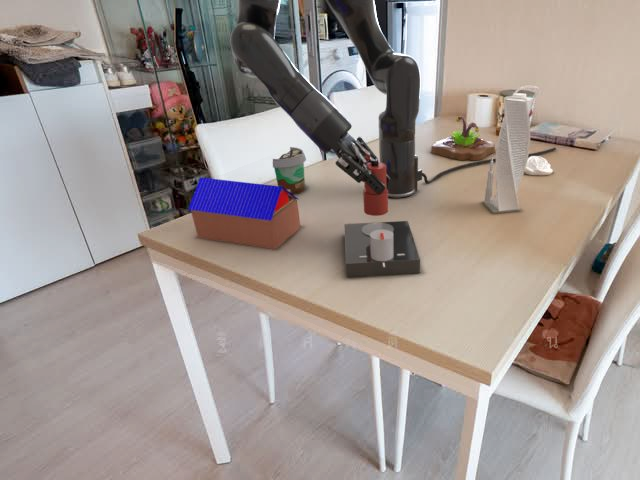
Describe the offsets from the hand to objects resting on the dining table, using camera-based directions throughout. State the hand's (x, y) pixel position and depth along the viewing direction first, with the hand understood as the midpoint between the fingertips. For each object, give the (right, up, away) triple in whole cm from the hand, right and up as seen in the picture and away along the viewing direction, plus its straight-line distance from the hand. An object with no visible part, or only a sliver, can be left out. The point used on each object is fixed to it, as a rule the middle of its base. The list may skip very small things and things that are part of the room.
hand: (384, 186), depth 92 cm
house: (-31, -8, +12) cm, 34 cm away
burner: (-2, -8, +6) cm, 10 cm away
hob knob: (0, -14, -4) cm, 15 cm away
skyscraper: (+29, 0, +23) cm, 38 cm away
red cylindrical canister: (-2, -4, +3) cm, 6 cm away
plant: (+25, +28, +65) cm, 75 cm away
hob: (-1, -14, +2) cm, 14 cm away
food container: (-25, +7, +34) cm, 43 cm away
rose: (+44, +16, +47) cm, 67 cm away
